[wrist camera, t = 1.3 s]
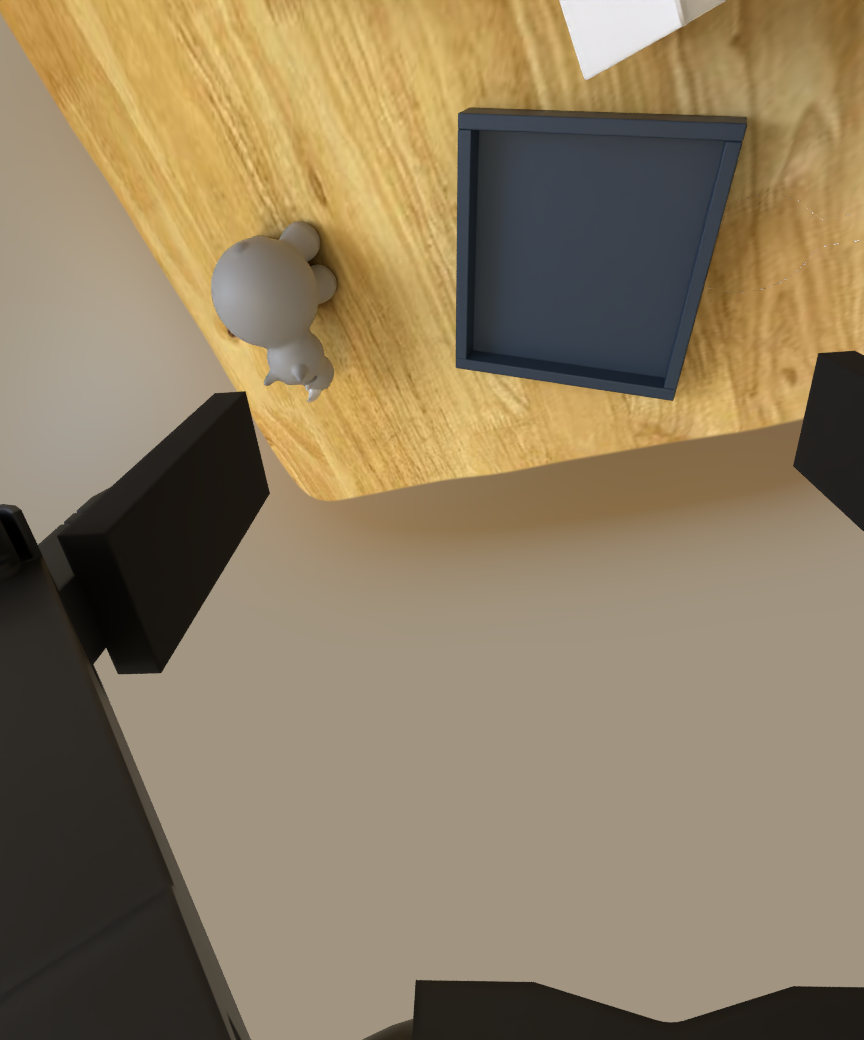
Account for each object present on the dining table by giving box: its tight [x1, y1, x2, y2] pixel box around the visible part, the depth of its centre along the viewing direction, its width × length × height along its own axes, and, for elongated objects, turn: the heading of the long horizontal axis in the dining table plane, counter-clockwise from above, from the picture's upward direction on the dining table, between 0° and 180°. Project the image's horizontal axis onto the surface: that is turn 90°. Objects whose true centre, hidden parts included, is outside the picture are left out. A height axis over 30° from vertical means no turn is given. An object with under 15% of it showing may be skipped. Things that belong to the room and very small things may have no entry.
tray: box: [456, 108, 747, 401], centre depth 39 cm, size 16×15×2 cm
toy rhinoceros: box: [211, 221, 337, 402], centre depth 45 cm, size 7×12×8 cm, turn 16°
